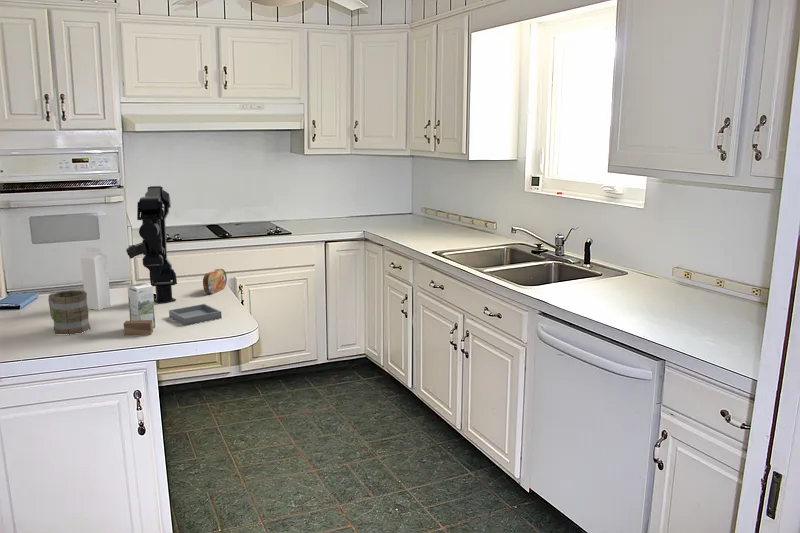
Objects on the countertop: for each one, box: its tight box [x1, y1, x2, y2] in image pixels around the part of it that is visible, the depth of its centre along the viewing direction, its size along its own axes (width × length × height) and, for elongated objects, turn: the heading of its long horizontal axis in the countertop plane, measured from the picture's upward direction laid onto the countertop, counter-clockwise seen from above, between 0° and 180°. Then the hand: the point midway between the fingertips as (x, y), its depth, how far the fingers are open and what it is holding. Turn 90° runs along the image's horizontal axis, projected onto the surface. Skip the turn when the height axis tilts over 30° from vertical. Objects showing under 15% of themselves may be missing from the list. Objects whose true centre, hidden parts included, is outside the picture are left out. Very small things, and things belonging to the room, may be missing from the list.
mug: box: [48, 289, 91, 336], centre depth 218 cm, size 16×11×12 cm
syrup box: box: [127, 282, 156, 329], centre depth 219 cm, size 6×6×14 cm
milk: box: [80, 247, 112, 311], centre depth 242 cm, size 6×6×22 cm
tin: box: [202, 268, 228, 295], centre depth 268 cm, size 15×3×8 cm, turn 167°
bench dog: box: [123, 320, 154, 337], centre depth 214 cm, size 3×8×4 cm, turn 98°
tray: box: [168, 303, 223, 326], centre depth 232 cm, size 13×13×2 cm
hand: (155, 280), depth 231 cm, fingers open, 9 cm apart
